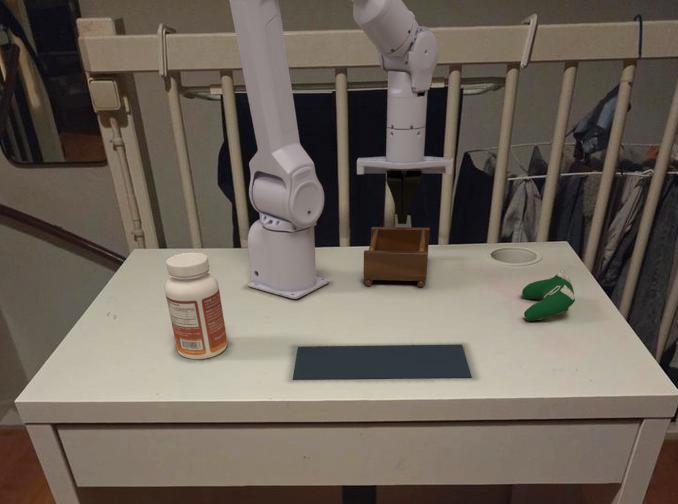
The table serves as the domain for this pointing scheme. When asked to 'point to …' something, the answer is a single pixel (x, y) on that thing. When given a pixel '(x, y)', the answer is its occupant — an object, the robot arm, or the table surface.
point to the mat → (381, 362)
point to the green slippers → (549, 297)
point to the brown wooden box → (397, 254)
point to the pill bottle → (195, 306)
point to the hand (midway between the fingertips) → (402, 222)
